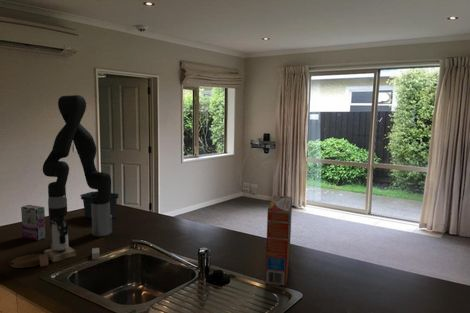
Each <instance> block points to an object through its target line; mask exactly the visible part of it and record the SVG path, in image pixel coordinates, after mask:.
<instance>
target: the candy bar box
mask: <svg viewBox="0 0 470 313" xmlns="http://www.w3.org/2000/svg"><path fill="white" fill-rule="evenodd" d="M20 208H21V211H20V212H21V225H22V226H21V228H22V238H23V239H29V240H34V241H40V240H44V239H46V238H47V235H46V234H47V233H46V219H45V218H46V215H45V206H39V205H32V204H27V205H23V206H21V207H20Z"/></svg>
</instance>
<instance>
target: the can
mask: <svg viewBox="0 0 470 313" xmlns="http://www.w3.org/2000/svg"><path fill="white" fill-rule="evenodd" d="M65 222H67V221H66V220H65ZM52 224H53V223H52ZM58 227H59V226H58ZM59 229H61V226H60V227H59ZM63 233H64V231H63ZM51 241H52V242H51V244H52V245H53V249H54V250H57V251H59V250H64V249H67V248H68V246H69V233H68V234H67V235H65V243H64V244H60V237H59V231H57V226H56V225H55V223H54V224H53V225H52V229H51Z"/></svg>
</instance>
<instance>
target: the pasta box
mask: <svg viewBox="0 0 470 313" xmlns="http://www.w3.org/2000/svg"><path fill="white" fill-rule="evenodd" d="M292 206H293V196H287V195H285V196H283V195H273V196H272V199H271V201H270V203H269V205H268V208H267V217H266V218H267V219H266V220H267V221H266V248H265V249H266V251H265V253H266V254H265V276H264V278H265V279H264V280H265V283H268V284H267V285H270V284H275V285H274V286H279V285H283V286H282V287H287V281H288V275H289V268H290V259H291V258H290V256H291V236H292V235H291V231H292V214H293V213H292V210H293V207H292ZM265 283H264V284H265Z"/></svg>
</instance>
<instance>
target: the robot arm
mask: <svg viewBox="0 0 470 313" xmlns="http://www.w3.org/2000/svg"><path fill="white" fill-rule="evenodd" d="M57 106H58V107H57V108H58V111H59V113H60V115H61V117H62V119H63V120H64V121H63V122H64V123H65V124H64V125H63V127H62V128H61V129H60V130H59V132H58V133H57V135H55V136H56V137H55V139H54V141H53V146H52V149H51V151H50V153H49V154H48V156H47V158H46V159H45V160H44V163H43V165H42V173H43V175H44V176H45V177H48V178H49V177H50V178H51V177H52V178H56V181H52V182H50V183H48V185H47V193H48V197H47V199H48V200H47V206H48V208H47V210H48V217H49V225H50V230H52V225H53V224H54V223H55V225H56V226H57V231H59V237H60V244H64V243H65V235H67V234H68V235H69V230H68V227H69V226H68V225H69V224H68V221H66V220H65V218H64V217H66V216H67V215H68V198H67V189H66V186H67V182H68V178H69V174H70V166H69V165H68V163H67V162H66V161H62V160H61V159H65V158H68V156H69V155H70V151H71V148H72V143H73V144H74V147H75V150H76V152H77V155H78V158H79V160H80V163H81V166H82V170H83V173H84V177H85V181H86V185H87V186H88V188H90V189H91V190H95V191H96V190H97V192H98V194H97V195H96V196H93V197H92V198H91V213H92V218H91V235H92V236H94V237H105V236H108V235H111V234H113V218H112V216H111V215H110V196H111V193H112V178H111V175H110V174H109V173H108V172H102V171H98V170H97V168H96V165H95V158H96V156H97V146H96V143H95V140H94V137H93V135H91V133H90V132H89V131H88V130H87V129H86V128H85V127H84V126H83V125H82V124H81V121H82V119H83V117H84V115H85V113H86V110H87V109H86V108H87V102H86V100H85V97H84V96H82V95H80V94H79V95H76V94H73V95H62V96H60V97H59V98H58V101H57ZM65 221H66V222H65ZM52 223H53V224H52ZM58 226H59V227H60V226H61V229H59V227H58ZM63 231H64V233H63Z"/></svg>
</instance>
